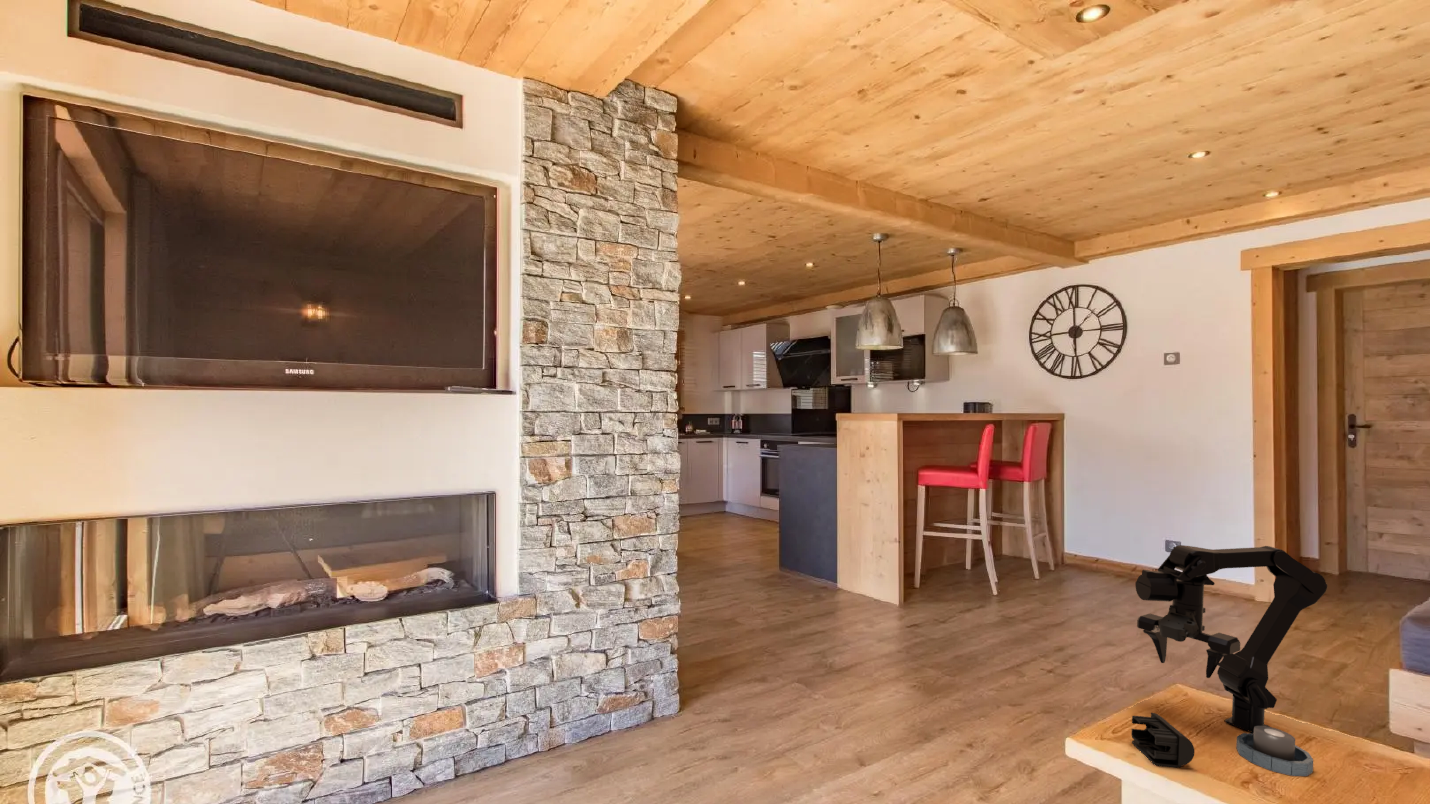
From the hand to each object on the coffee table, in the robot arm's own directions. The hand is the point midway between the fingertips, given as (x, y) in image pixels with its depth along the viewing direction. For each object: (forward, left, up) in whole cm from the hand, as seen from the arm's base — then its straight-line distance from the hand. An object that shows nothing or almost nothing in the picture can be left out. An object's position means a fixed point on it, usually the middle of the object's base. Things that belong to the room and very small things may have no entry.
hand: (1184, 669), depth 149 cm
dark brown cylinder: (+1, +17, -12) cm, 21 cm away
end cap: (+21, +5, -12) cm, 25 cm away
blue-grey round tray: (+1, +17, -12) cm, 21 cm away
